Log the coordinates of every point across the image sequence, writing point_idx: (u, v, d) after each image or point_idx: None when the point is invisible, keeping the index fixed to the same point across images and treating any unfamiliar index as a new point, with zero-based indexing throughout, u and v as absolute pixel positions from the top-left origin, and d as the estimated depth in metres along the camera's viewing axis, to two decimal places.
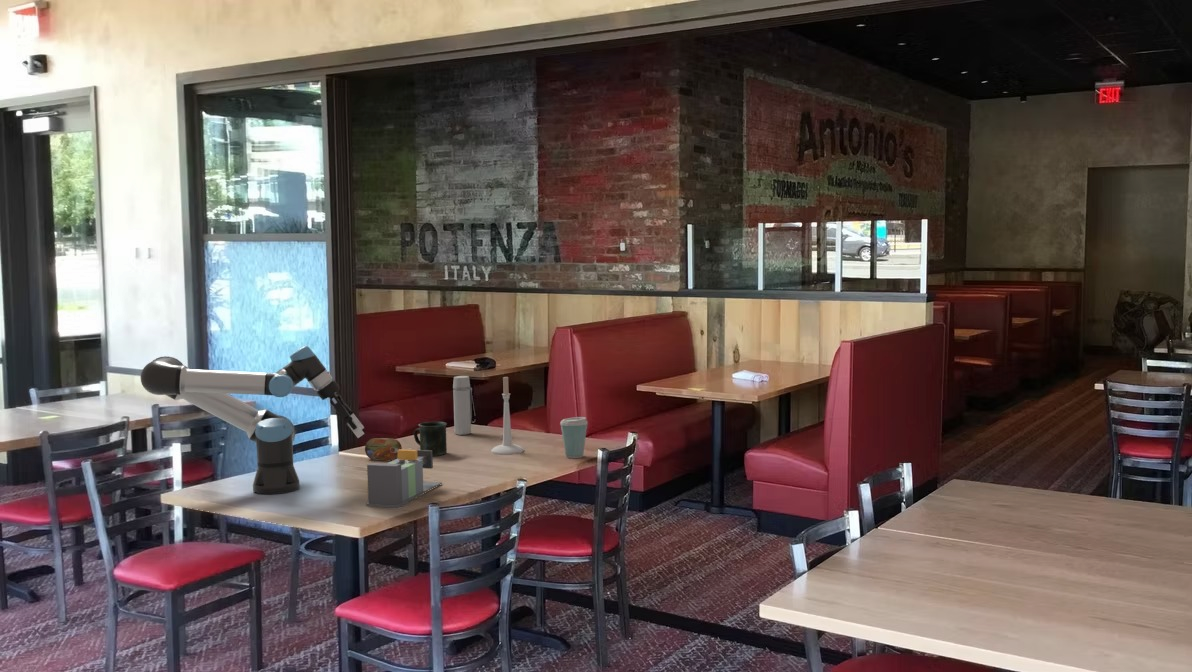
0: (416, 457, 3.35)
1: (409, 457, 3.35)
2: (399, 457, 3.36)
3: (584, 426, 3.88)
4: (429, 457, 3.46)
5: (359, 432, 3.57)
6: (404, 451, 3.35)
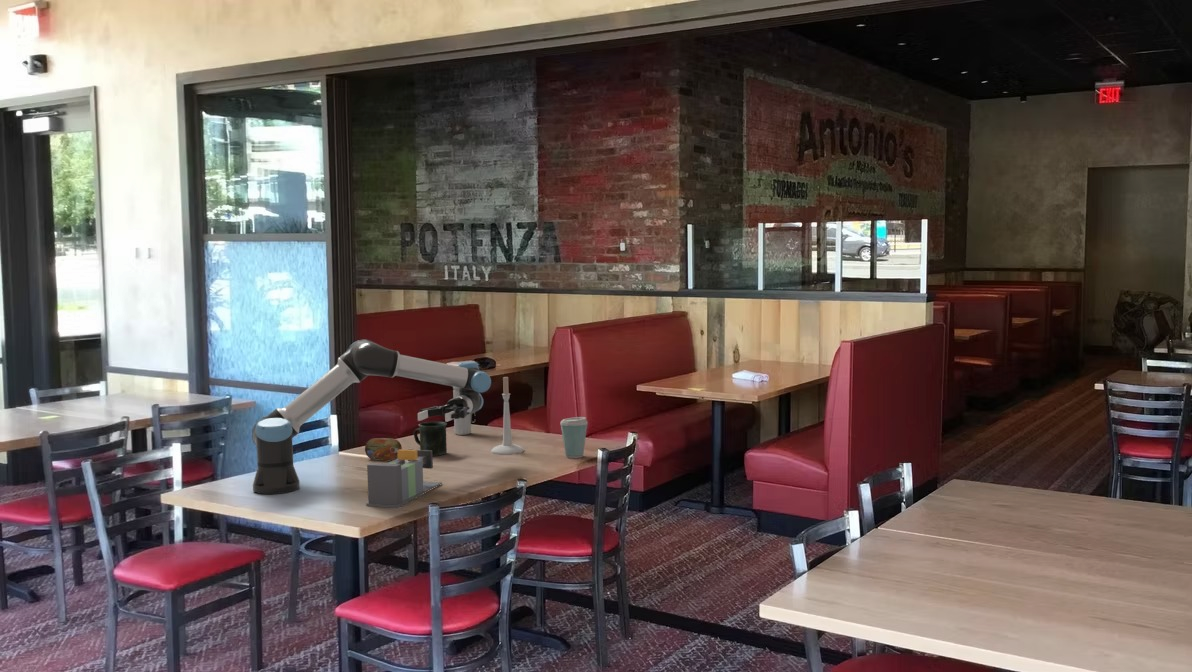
0: (416, 457, 3.35)
1: (409, 457, 3.35)
2: (399, 457, 3.36)
3: (584, 426, 3.88)
4: (429, 457, 3.46)
5: (448, 418, 3.53)
6: (404, 451, 3.35)
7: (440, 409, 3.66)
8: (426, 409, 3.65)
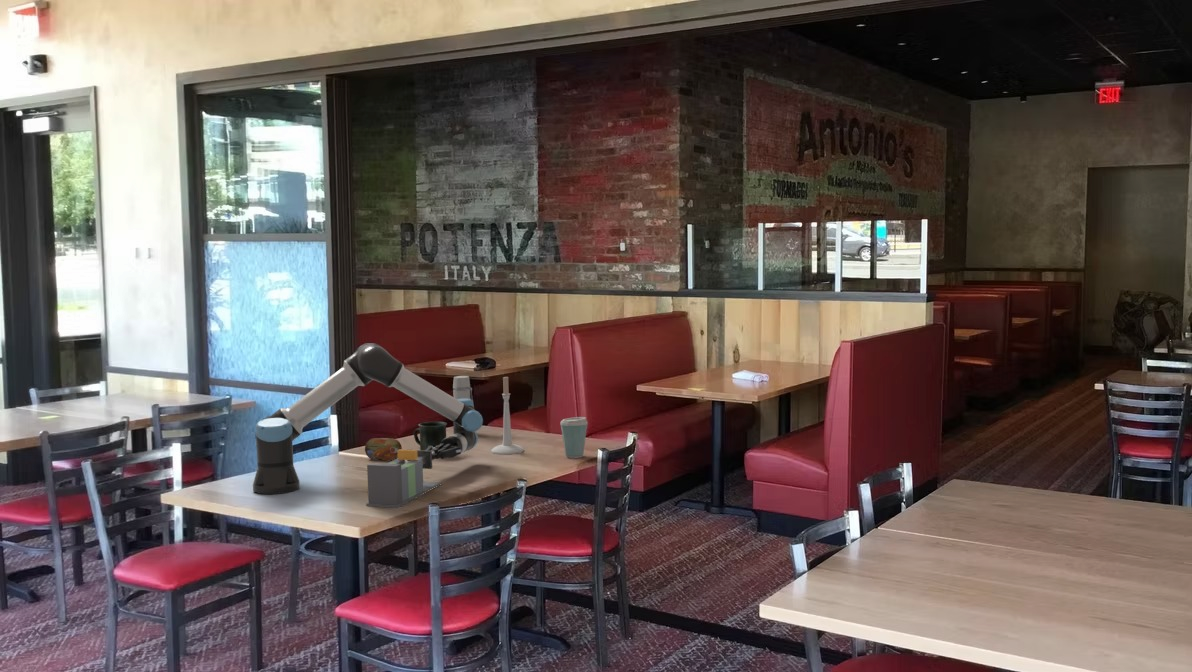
0: (416, 457, 3.35)
1: (409, 457, 3.35)
2: (399, 457, 3.36)
3: (584, 426, 3.88)
4: (428, 457, 3.46)
5: None
6: (404, 451, 3.35)
7: (439, 449, 3.61)
8: (429, 450, 3.58)
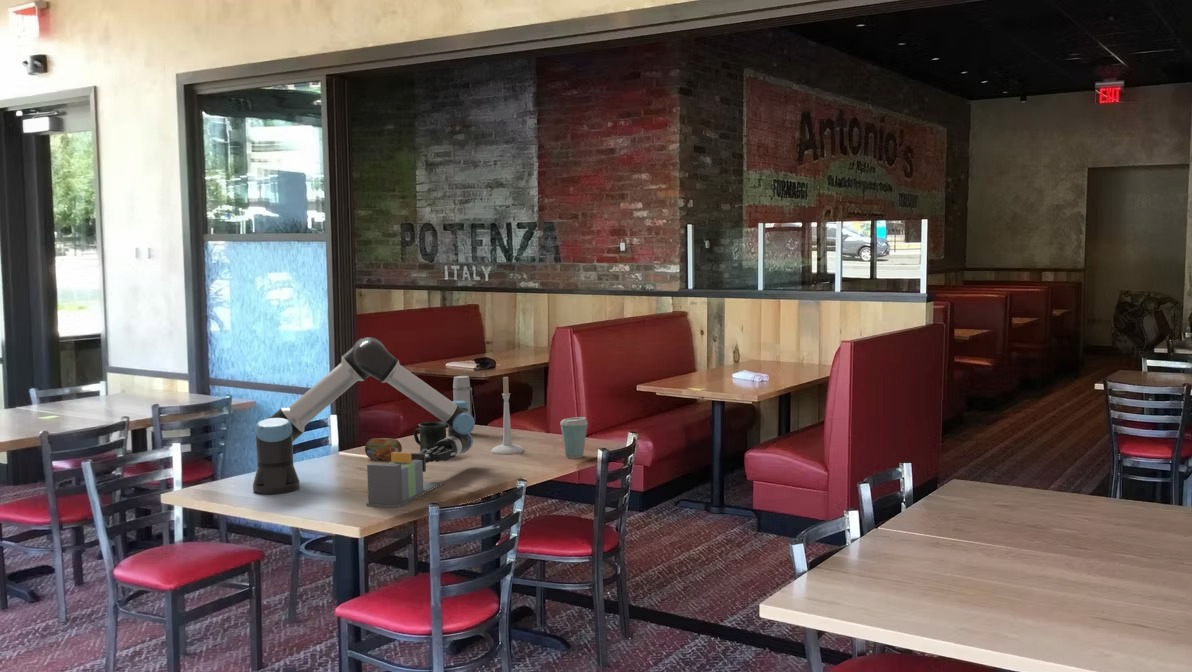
0: (410, 460, 3.31)
1: (403, 460, 3.31)
2: (393, 460, 3.32)
3: (584, 426, 3.88)
4: (422, 460, 3.41)
5: None
6: (398, 454, 3.31)
7: (433, 452, 3.56)
8: (422, 452, 3.53)
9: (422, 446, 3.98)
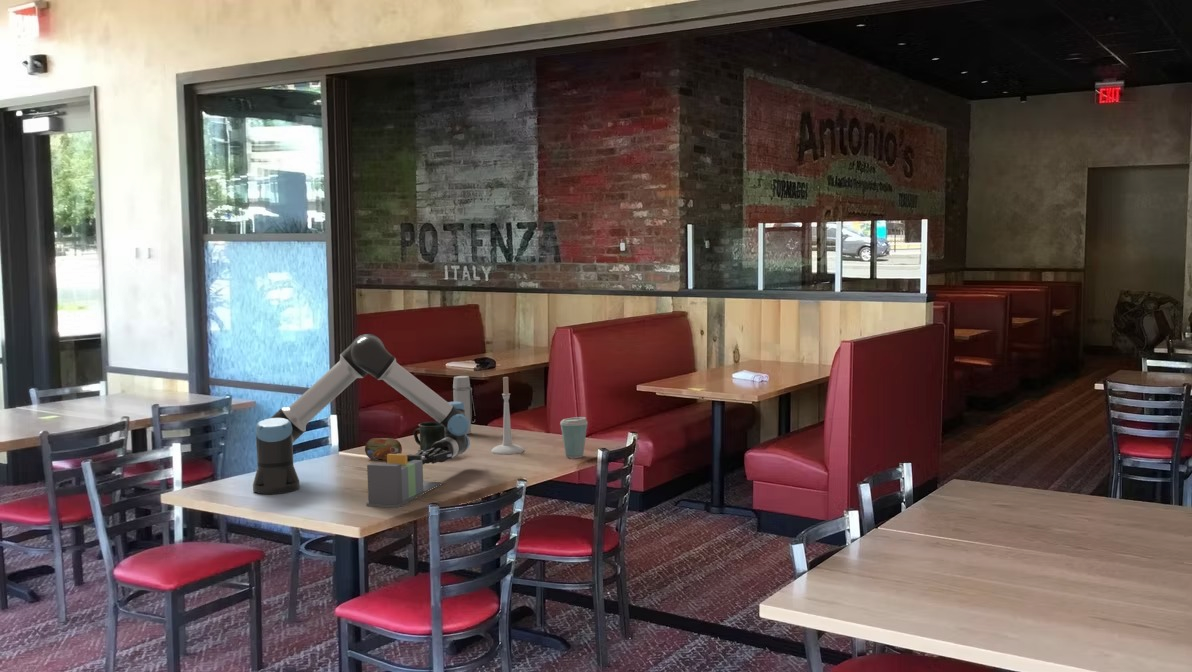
0: (406, 462, 3.28)
1: (399, 461, 3.28)
2: (389, 462, 3.29)
3: (584, 426, 3.88)
4: None
5: None
6: (394, 455, 3.28)
7: (429, 453, 3.53)
8: (419, 454, 3.51)
9: (422, 446, 3.98)
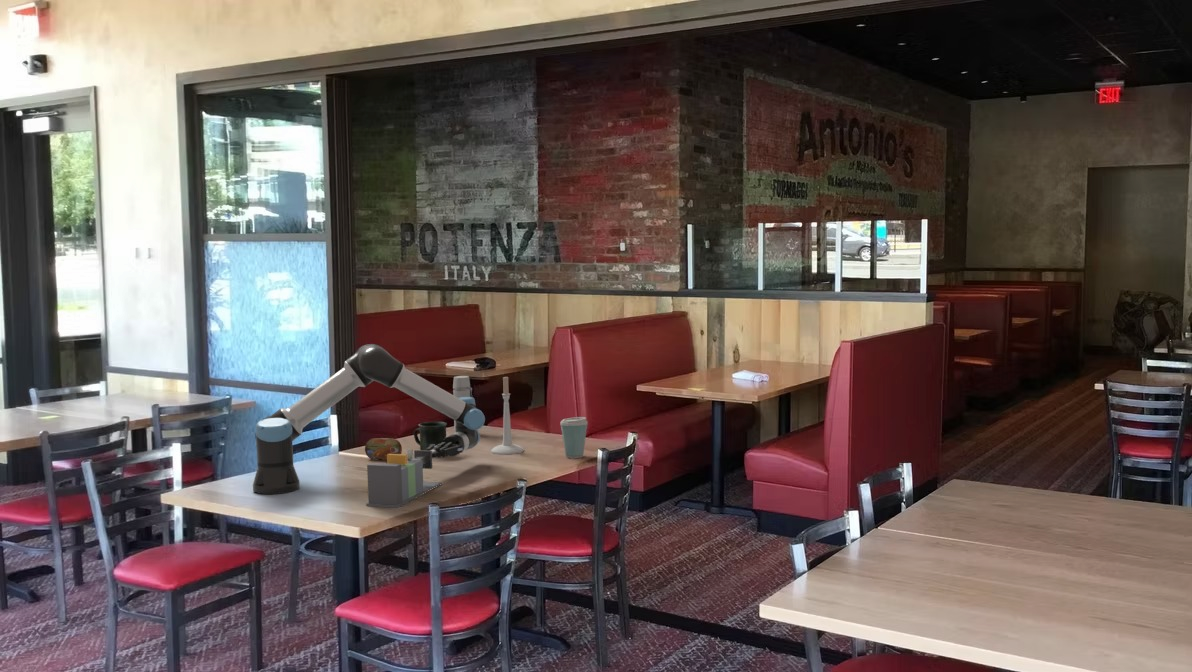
0: (406, 462, 3.28)
1: (399, 461, 3.28)
2: (388, 462, 3.29)
3: (584, 426, 3.88)
4: (428, 457, 3.46)
5: None
6: (394, 455, 3.28)
7: (440, 447, 3.61)
8: (430, 448, 3.58)
9: (422, 446, 3.98)
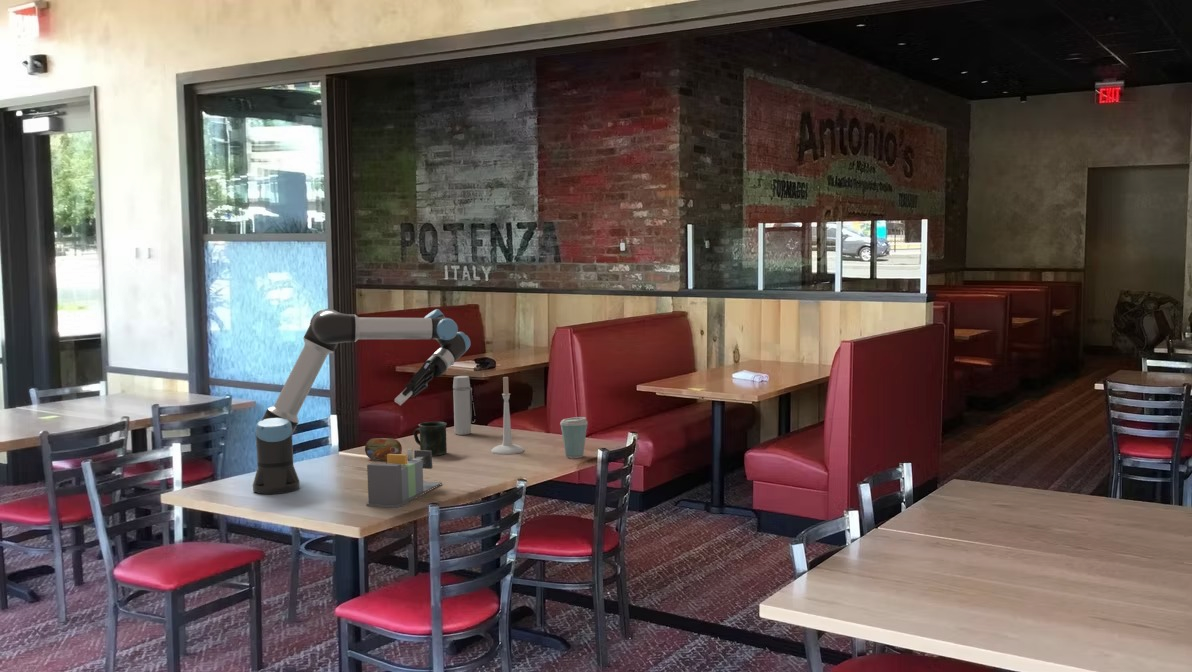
0: (406, 462, 3.28)
1: (399, 461, 3.28)
2: (388, 462, 3.29)
3: (584, 426, 3.88)
4: (429, 457, 3.46)
5: (400, 398, 3.54)
6: (394, 455, 3.28)
7: None
8: None
9: (422, 446, 3.98)
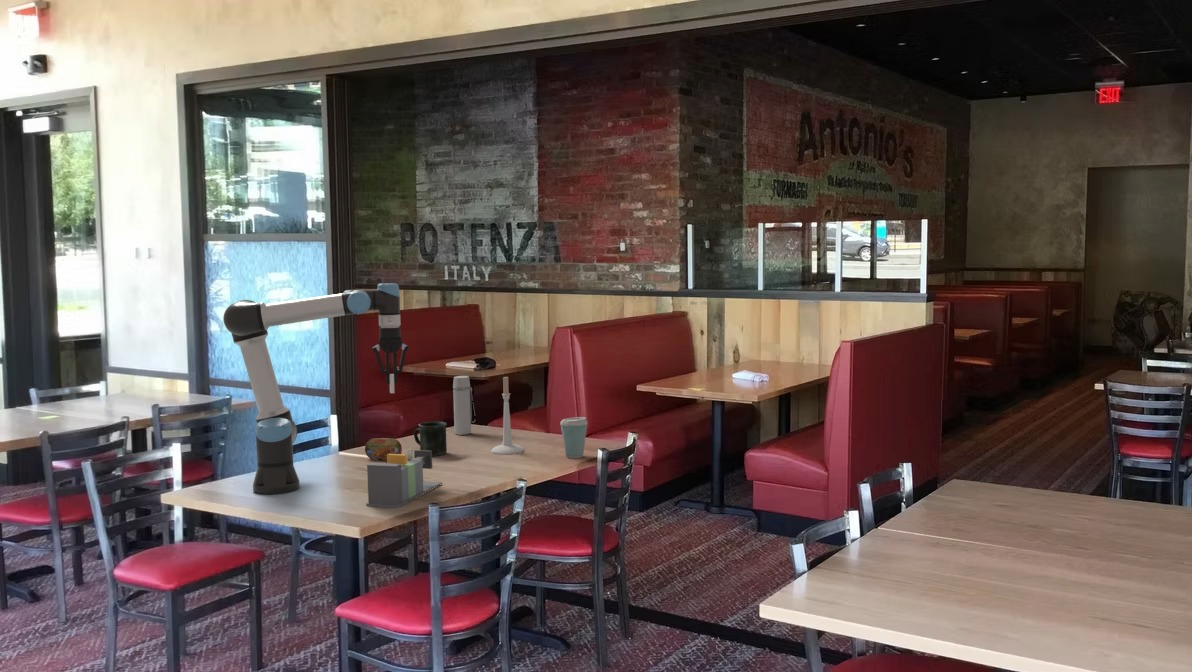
0: (406, 462, 3.28)
1: (399, 461, 3.28)
2: (388, 462, 3.29)
3: (584, 426, 3.88)
4: (429, 457, 3.46)
5: (390, 389, 3.64)
6: (394, 455, 3.28)
7: None
8: None
9: (422, 446, 3.98)
